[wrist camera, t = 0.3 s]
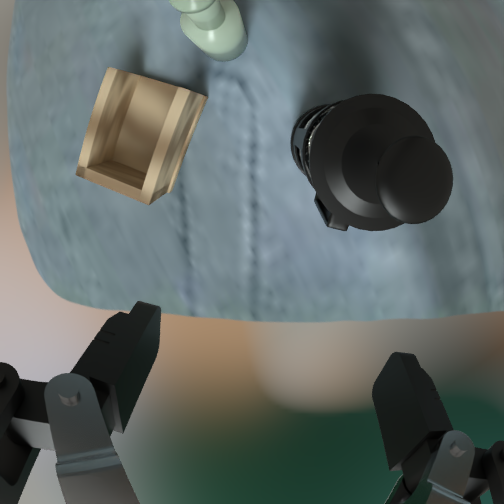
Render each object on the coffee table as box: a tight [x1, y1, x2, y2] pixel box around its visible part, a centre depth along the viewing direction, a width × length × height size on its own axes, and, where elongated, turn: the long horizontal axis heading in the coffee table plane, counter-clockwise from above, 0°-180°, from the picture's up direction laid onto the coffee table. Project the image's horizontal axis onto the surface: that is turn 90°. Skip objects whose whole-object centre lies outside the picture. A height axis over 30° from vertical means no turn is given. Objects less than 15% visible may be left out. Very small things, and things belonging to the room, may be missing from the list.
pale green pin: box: [169, 0, 248, 62], centre depth 22 cm, size 5×5×16 cm
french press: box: [291, 94, 453, 231], centre depth 23 cm, size 12×9×23 cm
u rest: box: [76, 67, 208, 205], centre depth 31 cm, size 12×10×7 cm
